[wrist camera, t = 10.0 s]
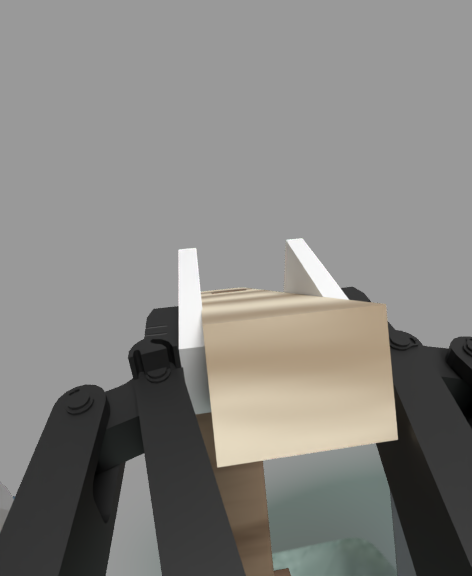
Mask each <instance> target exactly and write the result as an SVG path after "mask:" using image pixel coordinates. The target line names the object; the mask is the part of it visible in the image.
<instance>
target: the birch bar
mask: <svg viewBox="0 0 472 576" xmlns="http://www.w3.org/2000/svg"><path fill="white" fill-rule="evenodd" d="M201 300H202V326H203V335H204V345H205V354H206V364H207V374H208V383H209V393H210V402H211V412H212V422H213V431H214V441H215V450H216V460H217V468H218V467H224V466H231V465H237V464H244V463H250V462H256V461H263V460H269V459H276V458H282V457H289V456H295V455H301V454H308V453H315V452H321V451H327V450H334V449H340V448H346V447H353V446H360V445H366V444H373V443H379V442H386V441H392V440H398V433H397V422H396V411H395V400H394V389H393V378H392V366H391V355H390V344H389V333H388V322H387V311H386V304H380V303H371V302H363V301H354V300H346V299H337V298H329V297H320V296H311V295H303V294H294V293H286V292H277V291H268V290H260V289H252V288H243V287H242V288H232V289H224V290H223V289H222V290H213V291H203V292H201Z"/></svg>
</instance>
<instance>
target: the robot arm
mask: <svg viewBox="0 0 472 576" xmlns="http://www.w3.org/2000/svg"><path fill="white" fill-rule="evenodd" d="M284 292H286V293H294V294H303V295H311V296H320V297H329V298H337V299H346V300H354V301H363V302H371V301H370V300H369V299H368V298H367V296H366V295H365V294H364V293H363V292H361V291H359V290H357V289H356V288H354V287H347V288H340V287H339V286H338V284H337V283H336V282H335V280H334V279H333V278H332V277H331V275H330V274H329V273H328V271H327V270H326V269H325V267H324V266H323V265H322V263H321V262H320V261H319V259H318V258H317V257H316V256H315V254H314V253H313V252H312V250H311V249H310V248H309V246H308V245H307V244H306V242H305V241H304V240H303V238H301V239H291V240H290V239H289V240H286V250H285V275H284ZM387 322H388V321H387ZM388 333H389V344H390V355H391V366H392V378H393V389H394V400H395V411H396V422H397V433H398V440H392V441H386V442H379V443H376V445H377V448H378V451H379V455H380V458H381V461H382V464H383V467H384V471H385V474H386V477H387V481H388V484H389V487H390V491H391V494H392V497H393V500H394V504H395V507H396V510H397V513H398V517H399V520H400V523H401V526H402V530H403V533H404V536H405V540H406V543H407V546H408V549H409V553H410V556H411V559H412V562H413V566H414V569H415V572H416V575H417V576H472V337H458V338H455V339H453V341H452V342H451V344H450V346H449V349H446V348H436V347H427V346H423V345H422V343H421V342H420V341H419V340H418V339H417V338H416V337H414V336H412V335H411V334H409V333H406V332H403V331H398V330H395V329H394V328H393V327H392V326H391V324H390V323H389V322H388ZM128 359H129V363H130V367H131V371H132V375H133V379H132V380H130V381H129V382H127V383H126V384H124V385H122V386H119V387H117V388H115V389H112V390H109V391H106V392H104V390H103V389H102V388H100V387H98V386H96V385H83V386H79V387H75V388H73V389H71V390H70V391H67V392H66V393H65V394H64V395H63V396H61V397H60V398H59V399H58V401H57V402H56V403H55V405H54V407H53V409H52V411H51V414H50V416H49V418H48V421H47V423H46V425H45V428H44V430H43V432H42V435H41V437H40V440H39V442H38V444H37V447H36V449H35V452H34V454H33V456H32V458H31V461H30V463H29V466H28V468H27V470H26V473H25V475H24V477H23V480H22V482H21V484H20V487H19V489H18V492H17V494H16V496H15V497H14V496H13V497H12V495H11V493H10V492H9V491H8V489H7V488H6V487H5V486H4V485H3V484H2V483H1V482H0V576H105V575H106V570H107V564H108V558H109V553H110V547H111V541H112V536H113V530H114V524H115V519H116V513H117V507H118V502H119V496H120V490H121V484H122V479H123V473H124V468H125V462H126V461H128V460H130V459H132V458H134V457H136V456H139V455H141V454H143V453H145V460H146V467H147V474H148V480H149V488H150V494H151V501H152V508H153V515H154V522H155V529H156V536H157V542H158V550H159V556H160V563H161V570H162V576H246V574H245V571H244V568H243V565H242V561H241V558H240V555H239V552H238V549H237V545H236V542H235V539H234V536H233V533H232V530H231V526H230V523H229V520H228V517H227V514H226V510H225V507H224V504H223V501H222V498H221V494H220V491H219V488H218V485H217V482H216V479H215V475H214V472H213V469H212V466H211V463H210V459H209V456H208V453H207V450H206V447H205V444H204V440H203V437H202V434H201V431H200V428H199V424H198V421H197V418H196V415H195V414H202V413H210V412H211V402H210V393H209V383H208V374H207V364H206V354H205V345H204V335H203V326H202V300H201V291H200V281H199V272H198V261H197V252H196V248H190V249H179V306H177V307H168V308H158V309H153V311H152V312H151V313H150V315H149V316H148V317H147V322H146V329H145V337H144V339H143V340H141V341H139V342H138V343H137V344H135V345H134V346H133V347H132V348H131V350H130V351H129V355H128Z"/></svg>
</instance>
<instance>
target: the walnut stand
mask: <svg viewBox="0 0 472 576" xmlns="http://www.w3.org/2000/svg"><path fill="white" fill-rule="evenodd" d="M195 415H196V418H197V421H198V424H199V428H200V431H201V434H202V437H203V440H204V444H205V447H206V450H207V453H208V456H209V459H210V463H211V466H212V469H213V472H214V475H215V479H216V482H217V485H218V488H219V491H220V494H221V498H222V501H223V504H224V507H225V510H226V514H227V517H228V520H229V523H230V526H231V530H232V533H233V536H234V539H235V542H236V545H237V549H238V552H239V555H240V558H241V561H242V565H243V568H244V571H245V574H246V576H291V575H290V571H289V568H286V569H281V570H276V571H273V561H272V551H271V541H270V530H269V521H268V510H267V500H266V490H265V479H264V469H263V461H256V462H250V463H244V464H237V465H231V466H224V467H218V468H217V460H216V450H215V441H214V431H213V422H212V412H210V413H202V414H195Z"/></svg>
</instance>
